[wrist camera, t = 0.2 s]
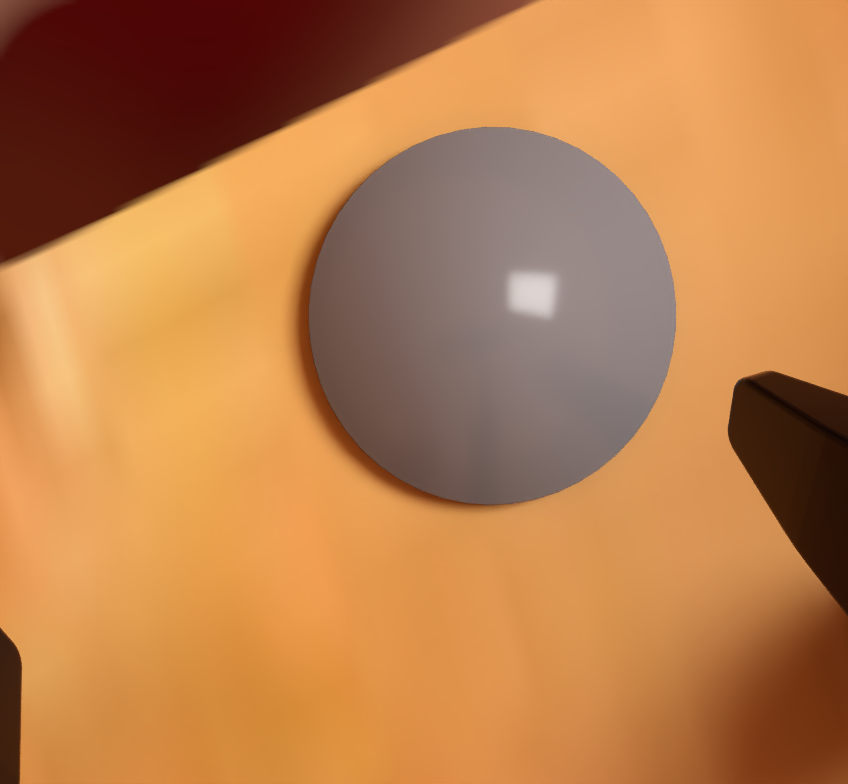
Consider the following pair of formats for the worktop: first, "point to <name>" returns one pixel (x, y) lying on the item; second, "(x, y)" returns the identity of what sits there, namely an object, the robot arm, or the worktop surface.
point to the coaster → (492, 315)
